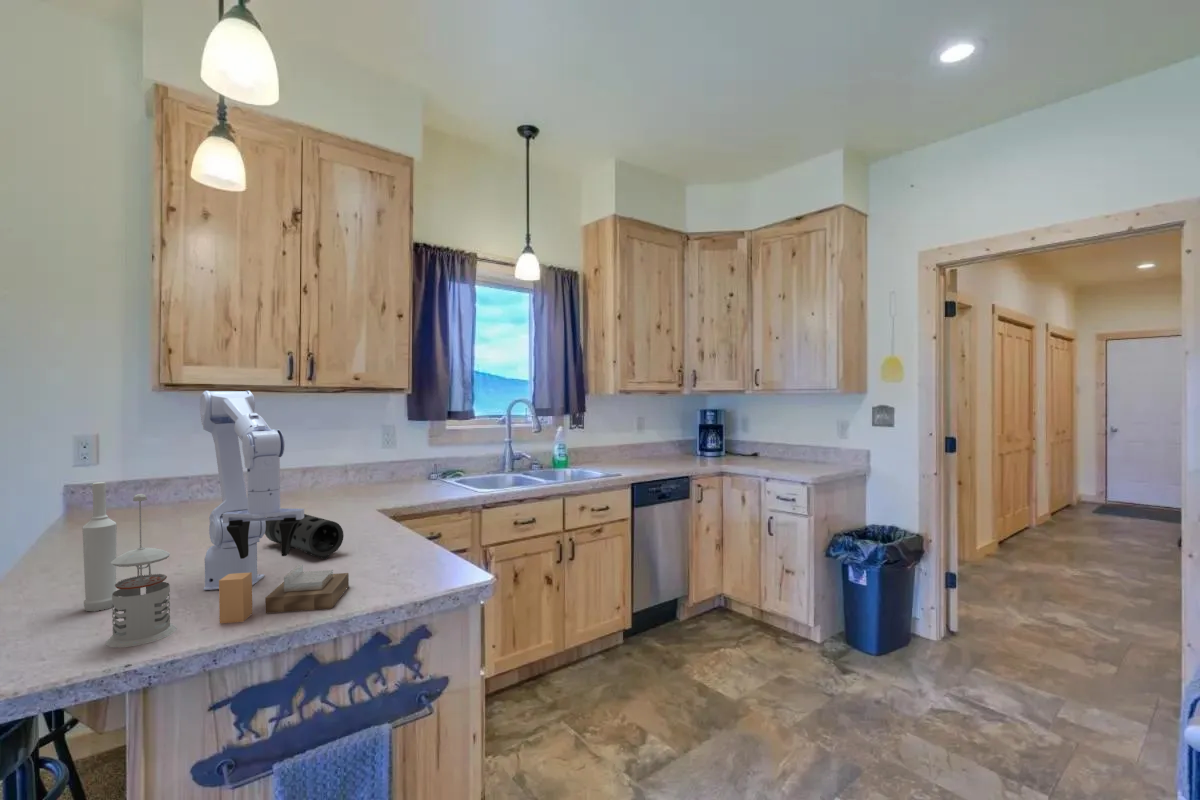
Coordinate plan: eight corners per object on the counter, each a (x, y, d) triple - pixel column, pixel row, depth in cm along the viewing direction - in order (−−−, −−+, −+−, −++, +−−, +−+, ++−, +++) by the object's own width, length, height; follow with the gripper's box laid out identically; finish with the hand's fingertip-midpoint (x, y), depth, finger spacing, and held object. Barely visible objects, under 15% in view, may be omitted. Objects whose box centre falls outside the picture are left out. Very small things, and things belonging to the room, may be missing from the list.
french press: (101, 652, 92) (99, 501, 92) (110, 629, 102) (107, 491, 102) (176, 637, 98) (174, 494, 98) (177, 616, 108) (175, 486, 107)
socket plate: (265, 613, 109) (265, 597, 109) (289, 590, 121) (289, 576, 121) (331, 608, 111) (331, 593, 111) (348, 586, 124) (348, 572, 124)
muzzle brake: (308, 564, 141) (307, 523, 141) (260, 547, 158) (259, 510, 158) (345, 556, 148) (344, 516, 148) (295, 540, 165) (295, 505, 165)
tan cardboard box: (219, 623, 104) (219, 580, 104) (229, 615, 108) (228, 573, 108) (243, 621, 105) (242, 578, 105) (252, 613, 109) (251, 572, 109)
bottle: (115, 600, 116) (113, 480, 116) (120, 606, 113) (118, 482, 113) (81, 608, 112) (79, 483, 112) (86, 614, 109) (84, 485, 109)
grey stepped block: (284, 591, 112) (283, 576, 112) (297, 579, 119) (297, 565, 119) (321, 589, 113) (321, 574, 113) (333, 576, 121) (332, 562, 121)
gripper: (214, 494, 109) (215, 564, 109) (295, 491, 112) (296, 559, 112) (231, 488, 116) (232, 554, 116) (307, 485, 119) (308, 549, 119)
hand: (264, 556), depth 115 cm, fingers open, 7 cm apart
